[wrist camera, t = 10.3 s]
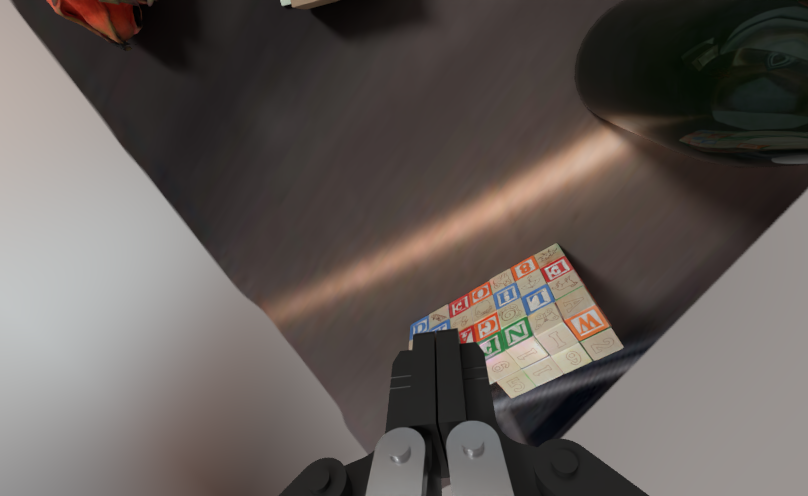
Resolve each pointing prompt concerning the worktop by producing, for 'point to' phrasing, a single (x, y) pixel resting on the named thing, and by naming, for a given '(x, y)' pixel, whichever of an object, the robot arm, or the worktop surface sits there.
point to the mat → (285, 2)
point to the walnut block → (310, 3)
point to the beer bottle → (703, 77)
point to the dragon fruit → (104, 17)
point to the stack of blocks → (529, 322)
